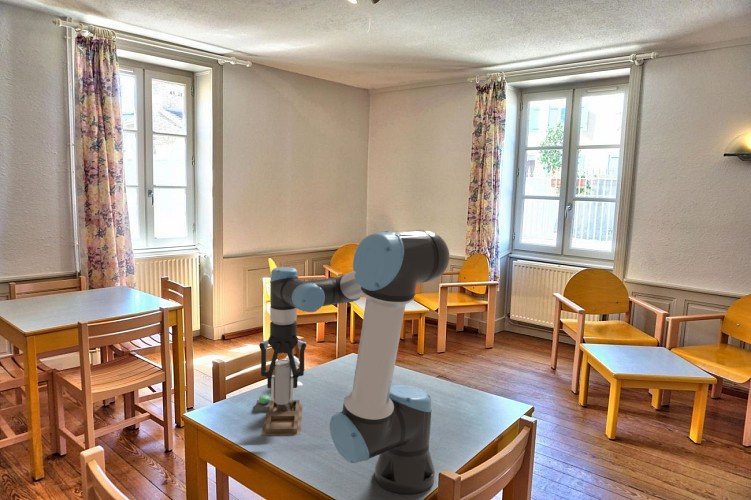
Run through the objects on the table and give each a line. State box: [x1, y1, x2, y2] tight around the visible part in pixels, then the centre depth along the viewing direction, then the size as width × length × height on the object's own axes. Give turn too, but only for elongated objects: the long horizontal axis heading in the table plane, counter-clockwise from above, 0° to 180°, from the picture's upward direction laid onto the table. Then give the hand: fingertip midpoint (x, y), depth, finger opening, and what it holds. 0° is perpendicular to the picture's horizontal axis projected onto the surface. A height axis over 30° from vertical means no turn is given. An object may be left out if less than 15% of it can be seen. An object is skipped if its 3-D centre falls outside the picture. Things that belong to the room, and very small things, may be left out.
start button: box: [258, 394, 271, 404], centre depth 161 cm, size 3×3×2 cm
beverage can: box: [273, 359, 291, 405], centre depth 148 cm, size 5×5×12 cm
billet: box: [276, 372, 294, 412], centre depth 159 cm, size 5×5×12 cm
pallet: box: [254, 399, 303, 436], centre depth 155 cm, size 20×14×3 cm
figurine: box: [283, 355, 303, 386], centre depth 180 cm, size 9×9×12 cm
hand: (282, 397), depth 149 cm, fingers closed on beverage can, 5 cm apart
